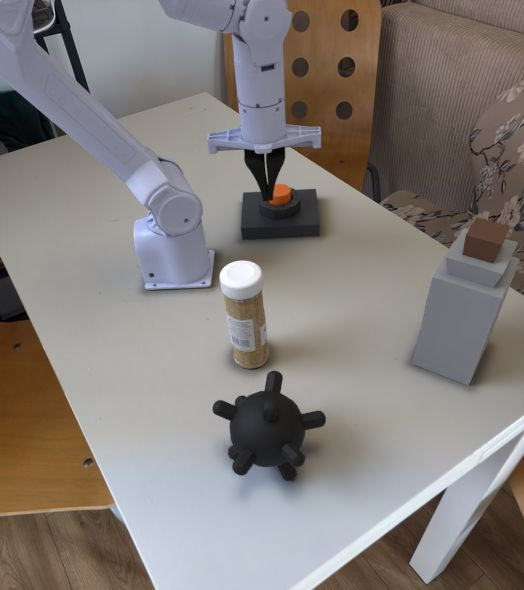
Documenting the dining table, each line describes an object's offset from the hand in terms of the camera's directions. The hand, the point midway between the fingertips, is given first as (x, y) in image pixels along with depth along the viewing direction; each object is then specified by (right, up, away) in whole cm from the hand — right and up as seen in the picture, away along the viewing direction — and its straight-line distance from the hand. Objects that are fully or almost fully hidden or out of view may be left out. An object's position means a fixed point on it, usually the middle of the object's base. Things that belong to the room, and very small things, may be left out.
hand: (268, 197), depth 73 cm
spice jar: (-2, -22, -8) cm, 24 cm away
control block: (+2, -1, +11) cm, 11 cm away
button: (+2, +2, +8) cm, 8 cm away
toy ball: (0, -33, -18) cm, 37 cm away
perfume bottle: (+22, -22, -10) cm, 33 cm away
